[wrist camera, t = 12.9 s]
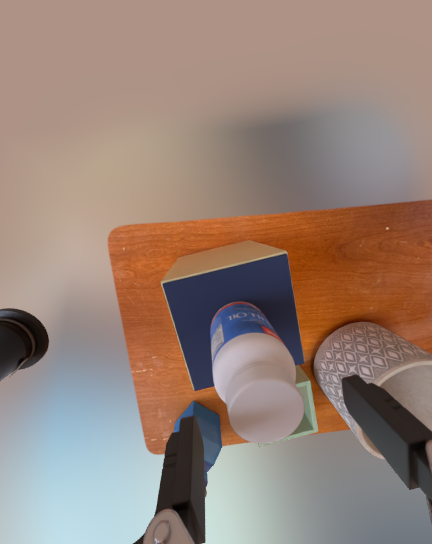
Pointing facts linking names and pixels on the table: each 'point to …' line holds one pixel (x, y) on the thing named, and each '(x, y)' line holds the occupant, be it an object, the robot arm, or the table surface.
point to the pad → (224, 290)
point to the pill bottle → (254, 374)
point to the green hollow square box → (309, 417)
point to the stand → (219, 263)
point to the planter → (375, 371)
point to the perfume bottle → (205, 433)
